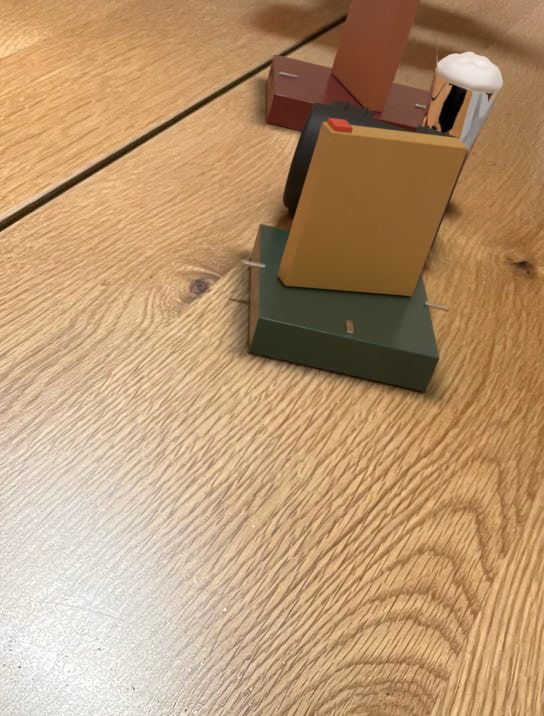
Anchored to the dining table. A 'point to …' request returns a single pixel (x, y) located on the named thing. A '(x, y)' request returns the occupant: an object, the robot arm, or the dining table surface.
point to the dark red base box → (330, 95)
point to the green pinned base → (339, 323)
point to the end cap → (309, 140)
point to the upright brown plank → (373, 48)
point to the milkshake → (462, 96)
